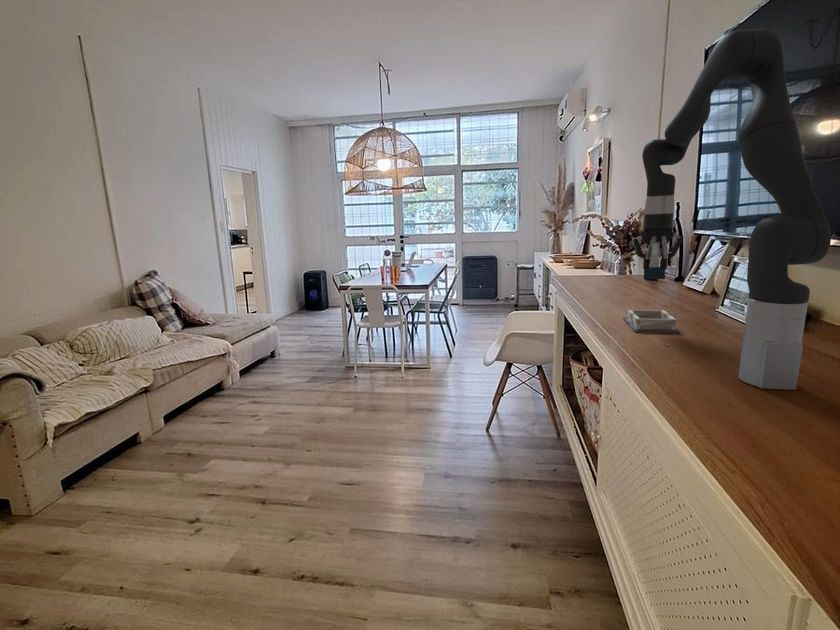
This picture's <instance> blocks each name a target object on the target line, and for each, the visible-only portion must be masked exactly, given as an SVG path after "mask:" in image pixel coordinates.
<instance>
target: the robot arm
mask: <svg viewBox="0 0 840 630" xmlns="http://www.w3.org/2000/svg"><path fill="white" fill-rule="evenodd" d="M741 80H742V81H743V80H746V81H747V82H748V83H749V86H750V89H751V94H752V103H751V106H750V108H749V110H748V112H747V114H746V116H745V118H744V119H743V122H742V124H741V127H739V128H740V129H739V132H738V137H737V138H738V144H739V149H740V154H741V159H742V163H743V165H744V168H745V169H746V171H747V173H748V174H750V176H751V177H752V178H753V179H754V180H755V181H756V182H757V183H758V184H759V185H760V186H761V187H763V189H765V190H766V191H767V192H768V193H769V194H770V195H771V197H772V198H773V199H774V201H775V202H776V204H777V206H778V208H779V212H780V214H781V216H773V217H766V218H764V219H762V220H760V221H759V222H758V223H757V224H756V225H755V226H754V228H753V230H752V231H751V235H750V238H749V243H748V254H747V255H748V259H747V274H746V282H747V283H746V284H747V286H748V297H747V304H746V305H747V306H746V313H745V321H744V330H743V334H742V335H743V337H742V342H741V343H742V344H741V354H740V361H739V370H738V379H739V380H741V381H742V382H744V383H746V384H749V385H752V386H756V387H757V388H758V389H765V390H768V389H769V390H786V391H787V390H793V391H795V390H797V383H798V378H799V372H800V371H799V370H800V366H801V361H802V360H801V359H802V354H803V348H804V347H803V346H804V344H803V343H802V342H803V337H804V336H803V335H804V329H805V323H806V317H807V314H808V313H807V312H808V304H809V299H810V295H811V294H810V293H811V291H810V290H811V289H810V288H809V286H808V285H806V284H803V283H801V282H797V281H794V280H792V279H791V278H790V277H789V272H788V271H789V270H788V267H789V266H791V265H792V266H793V265H808V264H814V263H817V262H820V261H821V260H823V259H824V258H825V257H826V255H827V254H828V252H829V250H830V246H831V243H832V242H831V241H832V236H831V229H830V226H829V222H828V219H827V217H826V215H825V212H824V210H823V208H822V205H821V203H820V201H819V198H818V196H817V194H816V191H815V188H814V186H813V183H812V179H811V176H810V173H809V170H808V167H807V163H806V159H805V156H804V153H803V148H802V142H801V138H800V135H799V129H798V127H797V126H798V125H797V123H796V120H795V117H794V113H793V110H792V106H791V101H790V95H789V91H788V86H787V81H786V80H787V79H786V73H785V63H784V54H783V46H782V42H781V39H780V35H778V33H777V32H776V31H775V30H771V29H768V28H767V29H766V28H765V29H764V28H760V29H759V28H758V29H738V30H731V31H730V32H728V33H726V34H724V36H722V37H721V38H720V39H719V41H718V42H717V43H716V45H715V46H714V48H713V50H712V52H711V53H710V54H709V56H708V59H707V60H706V62H705V63H704V66H703V67H702V69H701V71H700V72H699V75H698V77H697V79H696V81H695V82H694V85H693V86H692V89H691V91H690V93H689V95H688V96H687V97H686V100H685V101H684V103H683V105H682V106H681V107H680V109H679V110H678V111H677V113H676V114H675V115H674V117H672V120H671V121H670V122H669V123H668V124H667V126H666V129H665V130H664V138H659V139H657V138H656V139H651V140H649V141H648V142H646V144H645V145H644V147H643V150H642V153H641V154H642V155H641V157H642V163H643V167H644V171H645V177H646V181H647V185H646V198H645V203H644V210H643V212H644V215H643V229H642V232H641V234H640V236H637V237H632V238H631V242H632V245H633V247H634V250H635V253H636V256H637V257H639V258H641V259H642V260H643V261H642V269H643V270H644V269H650V259H649V258H650V255H651V244H653V243H655V242H660V245H659V247H660V251H661V258H659V262H660V263H659V267H660V268H665V271H666V270H667V268H668V259H669V258H673V257H675V256H676V254H677V252H678V250H679V249H680V247H681V244H682V243H683V241H684V237H682V236H678V235H675V233H674V231H673V227H674V215H675V192H676V191H675V190H676V189H675V187H676V177H675V175H674V174H671V173H666V172H664V171H663V169H662V167H661V166H675V165H677V164H678V163H680V162H681V161H682V160H683V159H684V158H685V156H686V154H687V151H688V148H689V147H690V144H691V141H692V140H693V138H694V137H695V136H696V135H697V134H698V132H699V131H700V130H702V128H703V127H704V126H705V124H706V122H707V121H708V120H709V117H710V113H711V106H712V105H711V104H712V101H711V100H712V99H711V98H712V94H713V92H714V90H716V88H717V87H718V86H719V85H721V84H722V83H723V82H724V81H741ZM642 240H643V242H644V243H645V247H644V249H645V251H644V253H643V250H642V248H641V243H642ZM671 240H672V243H673V244H672V245H671V247H670V249H669V248H668V244H669V243H670V241H671ZM657 247H658V246H657ZM668 250H669V251H668Z"/></svg>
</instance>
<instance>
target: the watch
mask: <svg viewBox="0 0 840 630" xmlns="http://www.w3.org/2000/svg"><path fill="white" fill-rule="evenodd" d="M659 245H660V242H655V243H653V244H651V255H650V258H649V259H650V269H643V280H665V279H666V270H665V268H660V259H661V258H662V257H661V251H660V247H659ZM657 246H658V247H657ZM644 252H645V248H644Z"/></svg>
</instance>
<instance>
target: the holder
mask: <svg viewBox="0 0 840 630" xmlns="http://www.w3.org/2000/svg"><path fill="white" fill-rule="evenodd" d="M623 319H624V320H623ZM622 320H623V321H624V322H625V323H626V324H627V326H630V327H631V328H632V329H633V330H634V331H633V330H632V329H631V328H630V329H631V330H632V331H633V333H635V332H653V333H652V334H681V330H680V329H678V328H677V318H675V317H673V316H672V315H671V314H670V313H668V312H667V311H665V309H627V312H626V317H623V318H622Z"/></svg>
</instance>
